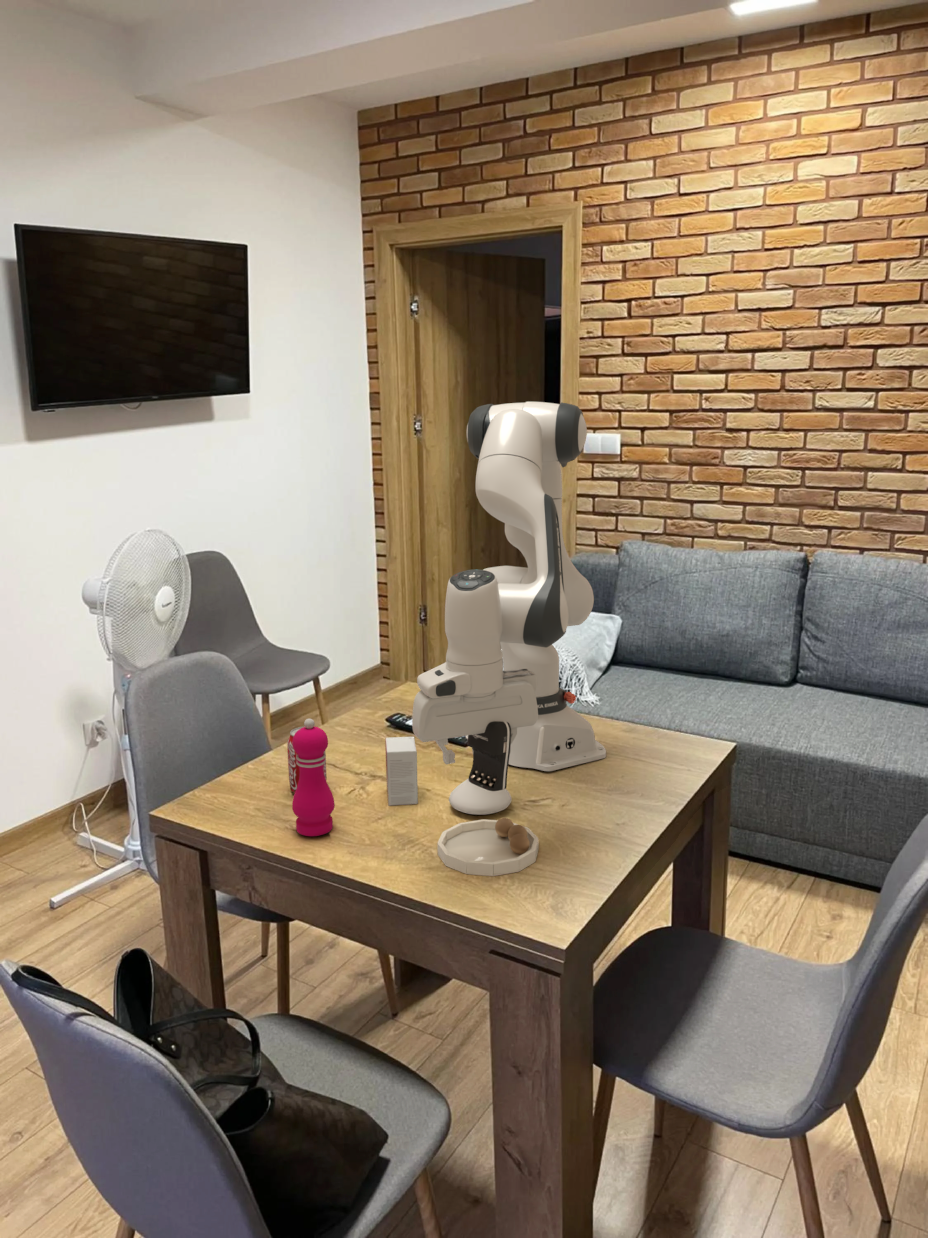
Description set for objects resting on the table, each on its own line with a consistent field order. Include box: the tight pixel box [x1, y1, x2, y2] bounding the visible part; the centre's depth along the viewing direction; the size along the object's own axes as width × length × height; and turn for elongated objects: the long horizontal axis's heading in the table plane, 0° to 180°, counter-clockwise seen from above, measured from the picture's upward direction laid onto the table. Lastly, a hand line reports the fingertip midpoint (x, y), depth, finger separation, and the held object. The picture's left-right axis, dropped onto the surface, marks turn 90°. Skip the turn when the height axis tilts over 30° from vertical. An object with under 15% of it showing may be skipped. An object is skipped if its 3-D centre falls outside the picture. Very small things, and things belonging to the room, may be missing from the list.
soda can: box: [286, 725, 328, 794], centre depth 182 cm, size 7×7×12 cm
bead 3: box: [510, 834, 530, 854], centre depth 155 cm, size 3×3×3 cm
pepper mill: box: [291, 718, 336, 837], centre depth 165 cm, size 7×7×20 cm
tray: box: [436, 818, 540, 877], centre depth 157 cm, size 16×16×2 cm
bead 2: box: [508, 824, 527, 840], centre depth 159 cm, size 3×3×3 cm
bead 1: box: [495, 817, 514, 837], centre depth 161 cm, size 3×3×3 cm
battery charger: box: [467, 721, 511, 791], centre depth 154 cm, size 7×4×11 cm, turn 42°
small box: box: [384, 736, 419, 807], centre depth 179 cm, size 8×6×10 cm
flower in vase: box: [448, 735, 513, 816], centre depth 173 cm, size 13×11×25 cm
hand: (477, 758), depth 154 cm, fingers open, 8 cm apart
